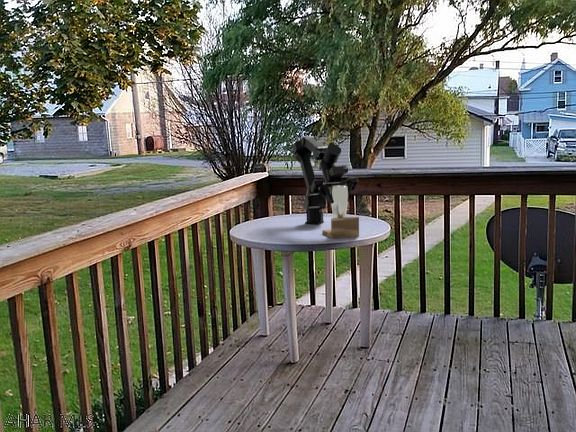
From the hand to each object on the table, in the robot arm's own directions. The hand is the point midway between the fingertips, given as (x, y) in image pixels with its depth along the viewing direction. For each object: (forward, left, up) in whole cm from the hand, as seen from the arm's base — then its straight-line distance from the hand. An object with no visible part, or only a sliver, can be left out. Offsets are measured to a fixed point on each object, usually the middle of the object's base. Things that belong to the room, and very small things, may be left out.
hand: (340, 202), depth 217 cm
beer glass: (-1, +1, -9) cm, 9 cm away
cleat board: (-1, +1, -13) cm, 13 cm away
